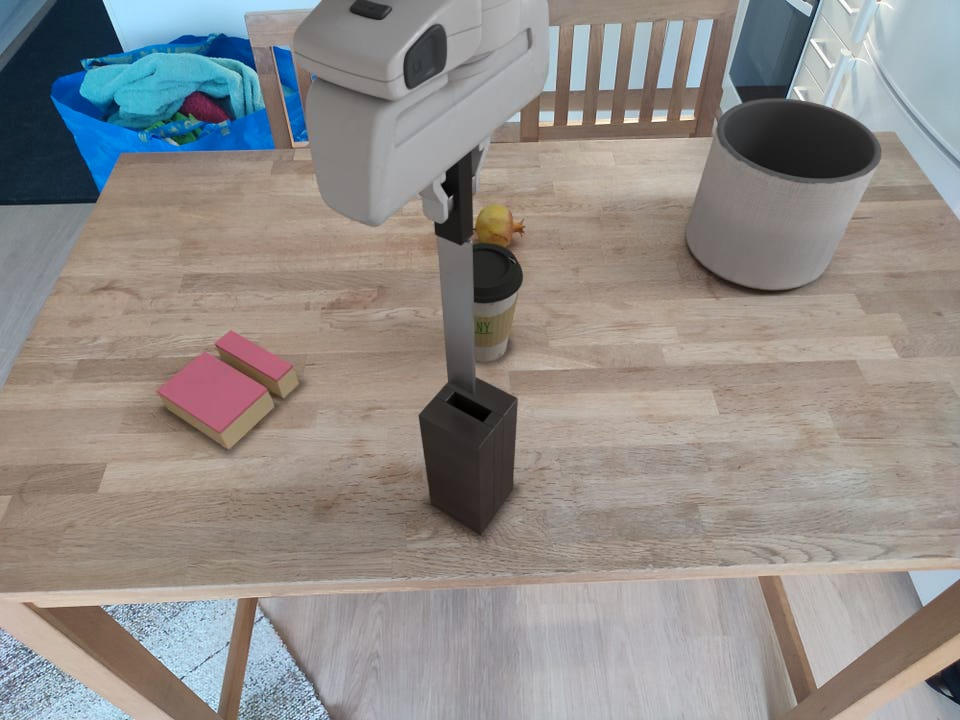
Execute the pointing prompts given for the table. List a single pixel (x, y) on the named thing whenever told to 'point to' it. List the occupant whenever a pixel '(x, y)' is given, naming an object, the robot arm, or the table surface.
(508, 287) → the coffee cup
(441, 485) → the knife block
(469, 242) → the knife
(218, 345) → the cake slice
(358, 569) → the table surface
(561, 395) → the table surface
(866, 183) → the planter
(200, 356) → the cake
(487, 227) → the fruit
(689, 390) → the table surface
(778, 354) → the table surface
